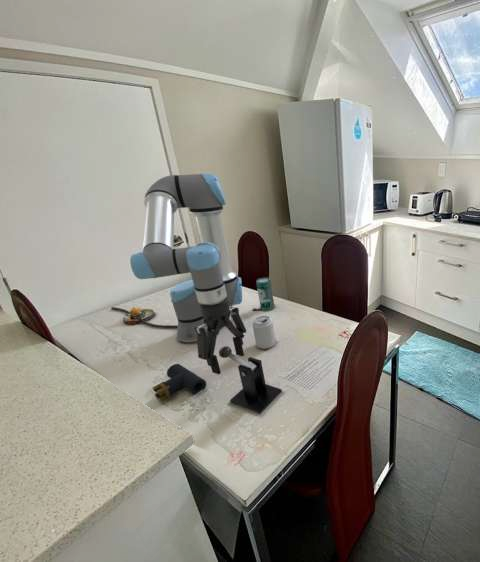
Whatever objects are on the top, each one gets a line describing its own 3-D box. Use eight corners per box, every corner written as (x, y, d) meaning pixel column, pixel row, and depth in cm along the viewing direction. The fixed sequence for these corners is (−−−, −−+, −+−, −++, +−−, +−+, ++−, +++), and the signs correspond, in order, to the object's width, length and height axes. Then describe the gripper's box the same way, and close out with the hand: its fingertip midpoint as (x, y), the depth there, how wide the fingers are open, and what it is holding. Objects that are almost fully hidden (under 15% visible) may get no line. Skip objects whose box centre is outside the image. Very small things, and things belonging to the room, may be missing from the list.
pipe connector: (167, 397, 93) (143, 379, 100) (171, 411, 95) (148, 392, 102) (204, 376, 102) (180, 360, 109) (207, 388, 104) (183, 373, 111)
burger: (160, 311, 153) (155, 298, 150) (144, 324, 142) (139, 310, 139) (135, 312, 152) (130, 298, 149) (117, 325, 142) (111, 310, 139)
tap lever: (215, 356, 96) (216, 348, 95) (225, 350, 100) (225, 342, 98) (249, 378, 94) (250, 370, 92) (257, 370, 97) (259, 362, 95)
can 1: (258, 308, 154) (253, 281, 148) (268, 303, 159) (263, 276, 153) (267, 311, 151) (262, 283, 145) (276, 306, 156) (272, 279, 150)
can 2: (270, 351, 122) (265, 325, 117) (253, 349, 123) (247, 323, 119) (279, 340, 129) (275, 315, 124) (262, 338, 130) (258, 313, 125)
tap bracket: (230, 403, 97) (221, 368, 92) (253, 383, 106) (246, 349, 100) (260, 415, 93) (252, 379, 87) (282, 393, 101) (276, 358, 96)
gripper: (188, 320, 79) (208, 389, 88) (250, 287, 97) (262, 347, 106) (168, 314, 82) (190, 382, 91) (232, 283, 100) (245, 342, 109)
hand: (228, 363), depth 98 cm, fingers open, 9 cm apart
